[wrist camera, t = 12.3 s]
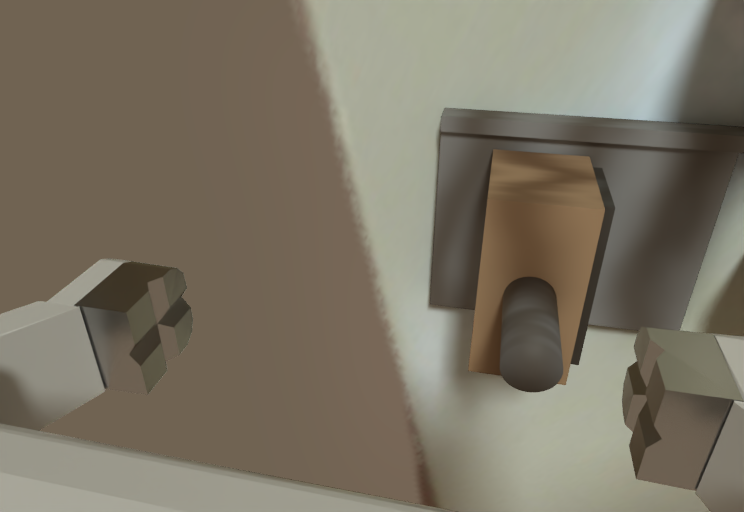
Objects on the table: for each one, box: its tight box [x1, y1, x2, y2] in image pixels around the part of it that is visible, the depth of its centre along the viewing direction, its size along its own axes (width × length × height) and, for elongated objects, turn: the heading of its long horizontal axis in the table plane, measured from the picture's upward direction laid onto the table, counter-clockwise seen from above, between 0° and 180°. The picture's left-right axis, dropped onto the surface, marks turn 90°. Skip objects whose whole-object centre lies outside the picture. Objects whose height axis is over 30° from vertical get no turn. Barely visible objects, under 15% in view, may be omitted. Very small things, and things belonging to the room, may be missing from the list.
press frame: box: [430, 108, 744, 331], centre depth 35 cm, size 34×15×10 cm, turn 90°
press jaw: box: [468, 149, 615, 392], centre depth 34 cm, size 7×12×14 cm, turn 0°
